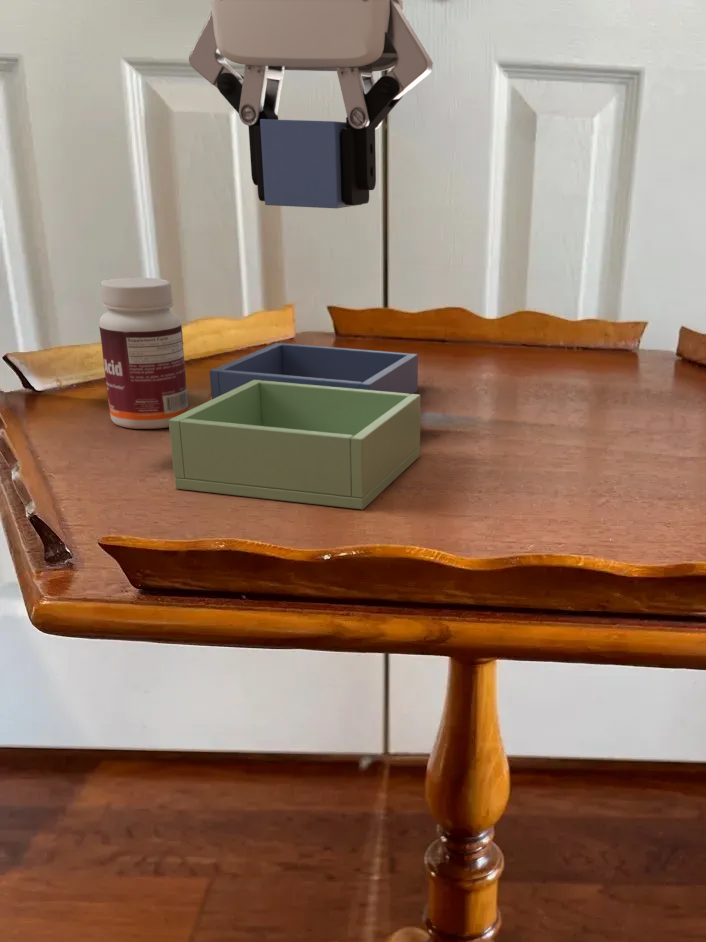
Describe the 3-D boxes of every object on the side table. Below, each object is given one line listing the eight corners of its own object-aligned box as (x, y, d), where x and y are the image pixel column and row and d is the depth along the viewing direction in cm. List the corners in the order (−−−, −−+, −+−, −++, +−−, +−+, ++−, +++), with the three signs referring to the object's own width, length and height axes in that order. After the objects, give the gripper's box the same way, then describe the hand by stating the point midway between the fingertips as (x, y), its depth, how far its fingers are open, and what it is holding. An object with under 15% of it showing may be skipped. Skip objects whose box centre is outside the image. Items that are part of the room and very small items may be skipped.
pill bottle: (104, 415, 66) (87, 277, 62) (180, 409, 68) (167, 275, 64) (118, 433, 62) (100, 288, 58) (197, 426, 64) (185, 285, 60)
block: (264, 205, 60) (259, 119, 58) (294, 201, 64) (290, 120, 62) (337, 208, 59) (334, 121, 57) (362, 204, 63) (361, 123, 61)
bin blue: (213, 429, 64) (209, 370, 62) (279, 394, 72) (276, 342, 71) (370, 444, 62) (369, 384, 60) (417, 407, 71) (418, 354, 69)
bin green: (174, 489, 53) (168, 419, 51) (257, 439, 62) (253, 379, 60) (363, 510, 51) (362, 438, 49) (420, 456, 60) (420, 394, 58)
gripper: (473, -162, 55) (466, 205, 63) (185, -155, 58) (212, 193, 66) (437, -205, 49) (434, 211, 57) (114, -194, 52) (154, 199, 60)
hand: (314, 198), depth 61 cm, fingers closed on block, 4 cm apart
